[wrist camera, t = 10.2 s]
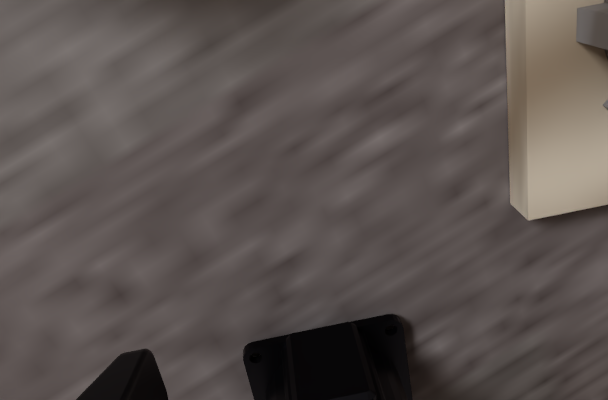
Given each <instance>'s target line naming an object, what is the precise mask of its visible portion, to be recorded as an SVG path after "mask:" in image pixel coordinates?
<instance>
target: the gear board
mask: <svg viewBox="0 0 608 400" xmlns="http://www.w3.org/2000/svg"><path fill="white" fill-rule="evenodd" d="M505 26H506V63H507V101H508V138H509V175H510V204H511V205H512V206H513V207H515V208H516V209H517V210H518V211H519V212H520V213H521V214H522V215H523V216H524V217H525V218H526V219H527V220H528V221H529V220H534V219H539V218H544V217H549V216H554V215H558V214H563V213H568V212H573V211H578V210H583V209H588V208H593V207H598V206H603V205H608V0H505Z"/></svg>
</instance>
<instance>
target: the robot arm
mask: <svg viewBox="0 0 608 400" xmlns="http://www.w3.org/2000/svg"><path fill="white" fill-rule="evenodd" d="M390 325H394V327H393V328H392V329H389V330H387V329H385V328H386V327H387V326H390ZM253 353H259V354H261V355H260V356H257V357H253V356H251V354H253ZM243 361H244V365H245V368H246V372H247V375H248V379H249V382H250V386H251V389H252V393H253V397H254V400H412V393H411V385H410V377H409V369H408V362H407V354H406V346H405V338H404V330H403V326H402V324H401V321H400V319H399V318H398V317H397V316H396V315H393V314H387V315H382V316H377V317H372V318H367V319H362V320H358V321H353V322H346V323H341V324H336V325H331V326H326V327H321V328H317V329H312V330H307V331H302V332H297V333H292V334H289V335H284V336H279V337H274V338H269V339H265V340H260V341H255V342H251V343H249V344H247V345H246V346H245V348H244V350H243ZM76 400H168V395H167V391H166V388H165V385H164V383H163V380H162V377H161V374H160V372H159V369H158V366H157V363H156V361H155V358H154V355H153V354H152V352H151V351H150V350H148V349H141V350H136V351H131V352H126V353H123V354H121V355H119V356H118V357H117V358H116V359H115V360H114V361H113V362H112V363H111V364H110V365H109V366H108V367H107V368H106V369H105V370H104V372H103V373H102V374H101V375H100V376H99V377H98V378H97V379H96V380H95V381H94V382H93V383H92V384H91V385H90V386H89V387H88V388H87V389H86V390H85V391H84V392H83V393H82V394H81V395H80V396H79V397H78V398H77V399H76Z"/></svg>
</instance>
